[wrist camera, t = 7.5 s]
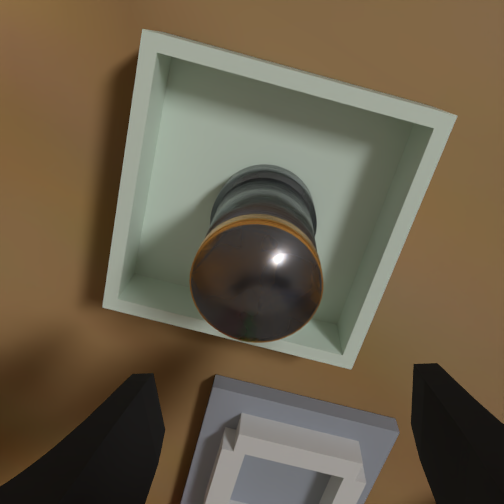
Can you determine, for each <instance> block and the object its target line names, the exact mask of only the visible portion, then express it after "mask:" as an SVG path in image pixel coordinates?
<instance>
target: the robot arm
mask: <svg viewBox="0 0 504 504" xmlns="http://www.w3.org/2000/svg"><path fill="white" fill-rule="evenodd" d="M411 426H412V430H413V434H414V438H415V442H416V446H417V450H418V454H419V458H420V461H421V464H422V467H423V469H424V472H425V475H426V477H427V480H428V483H429V485H430V488H431V491H432V493H433V496H434V498H435V501H436V504H504V424H503V423H501V422H500V421H499V420H498V419H497V418H496V417H494V416H493V415H492V414H491V413H490V412H489V411H488V410H487V409H485V408H484V407H483V406H482V405H481V404H480V403H479V402H478V401H476V400H475V399H474V398H473V397H472V396H471V395H470V394H469V393H468V392H467V391H466V390H465V389H464V388H463V387H462V386H461V385H459V384H458V383H457V382H456V381H455V380H454V379H453V378H452V377H451V376H450V375H449V374H448V373H447V372H446V371H445V370H444V369H443V368H442V367H441V366H440V365H439V364H437V363H431V364H414V370H413V392H412V413H411ZM164 433H165V427H164V422H163V417H162V413H161V408H160V403H159V398H158V393H157V389H156V384H155V379H154V374H153V373H148V374H132V375H131V376H130V377H129V378H128V379H127V380H126V381H125V382H124V383H123V384H122V385H121V386H120V387H119V388H118V389H116V390H115V391H114V392H113V393H112V394H111V395H110V396H109V397H108V398H107V399H106V400H105V401H104V402H103V403H102V404H101V405H100V406H99V407H98V408H97V409H96V410H95V411H94V412H93V413H92V414H91V415H90V416H89V417H88V418H87V419H86V420H84V421H83V422H82V423H81V424H80V425H79V426H78V427H77V428H75V429H74V430H73V431H72V432H71V433H70V434H69V435H68V436H66V437H65V438H64V439H63V440H62V441H61V442H60V443H58V444H57V445H56V446H55V447H54V448H52V449H51V450H50V451H49V452H48V453H46V454H45V455H44V456H42V457H41V458H40V459H39V460H37V461H36V462H35V463H33V464H32V465H31V466H29V467H28V468H27V469H25V470H24V471H23V472H21V473H20V474H18V475H17V476H16V477H14V478H13V479H11V480H10V481H8V482H6V483H5V484H3V485H2V486H0V504H145V502H146V499H147V496H148V493H149V490H150V487H151V484H152V481H153V478H154V475H155V472H156V469H157V466H158V462H159V457H160V453H161V448H162V443H163V438H164Z"/></svg>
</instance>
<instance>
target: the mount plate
mask: <svg viewBox="0 0 504 504" xmlns="http://www.w3.org/2000/svg"><path fill="white" fill-rule="evenodd" d="M399 433H400V432H399V429H398V426H397V422H396V419H394V418H390V417H386V416H382V415H378V414H374V413H370V412H366V411H362V410H358V409H354V408H350V407H346V406H342V405H338V404H333V403H329V402H325V401H321V400H317V399H313V398H309V397H305V396H301V395H297V394H293V393H289V392H285V391H281V390H277V389H272V388H268V387H264V386H260V385H256V384H252V383H248V382H244V381H240V380H236V379H232V378H228V377H224V376H220V375H215V379H214V382H213V386H212V389H211V393H210V397H209V400H208V404H207V408H206V411H205V415H204V419H203V422H202V426H201V429H200V433H199V437H198V440H197V444H196V448H195V451H194V455H193V459H192V462H191V466H190V469H189V473H188V477H187V480H186V484H185V488H184V491H183V495H182V499H181V502H180V504H364V502H365V500H366V498H367V496H368V494H369V492H370V490H371V488H372V486H373V484H374V482H375V480H376V478H377V476H378V474H379V472H380V470H381V468H382V466H383V465H384V463H385V461H386V459H387V457H388V455H389V453H390V451H391V449H392V447H393V445H394V443H395V441H396V439H397V437H398V435H399Z"/></svg>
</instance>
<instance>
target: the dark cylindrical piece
mask: <svg viewBox="0 0 504 504" xmlns="http://www.w3.org/2000/svg"><path fill="white" fill-rule="evenodd" d="M316 229H317V219H316V212H315V207H314V203H313V199H312V196H311V193H310V191H309V190H308V188H307V186H306V185H305V184H304V182H303V181H302V180H301V179H300V178H299V177H298V176H296V175H295V174H294V173H292V172H291V171H289V170H287V169H285V168H282V167H279V166H275V165H268V164H260V165H253V166H250V167H246V168H244V169H242V170H240V171H238V172H237V173H235V174H234V175H232V176H231V177H230V178H229V179H228V180H227V181H226V182H225V184H224V185H223V186H222V188H221V190H220V192H219V194H218V196H217V198H216V200H215V202H214V205H213V208H212V211H211V217H210V227H209V229H208V232H207V234H206V236H205V239H204V240H203V241H202V243H201V245H200V247H199V249H198V251H197V253H196V256H195V258H194V261H193V263H192V266H191V271H190V280H189V283H190V292H191V296H192V299H193V302H194V304H195V306H196V308H197V310H198V311H199V313H200V314H201V316H202V317H203V318H204V319H205V320H206V321H207V322H208V323H209V324H210V325H211V326H212V327H213V328H215V329H216V330H218V331H219V332H221V333H222V334H224V335H226V336H228V337H231V338H234V339H237V340H241V341H245V342H253V343H263V342H272V341H276V340H280V339H283V338H286V337H288V336H290V335H292V334H294V333H295V332H297V331H298V330H300V329H301V328H302V327H304V326H305V325H306V324H307V323H308V322H309V321H310V320H311V318H312V317H313V315H314V314H315V313H316V311H317V309H318V307H319V305H320V302H321V299H322V294H323V283H324V282H323V274H322V268H321V262H320V259H319V255H318V253H317V248H316V242H315V235H316Z"/></svg>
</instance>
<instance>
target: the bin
mask: <svg viewBox="0 0 504 504" xmlns="http://www.w3.org/2000/svg"><path fill="white" fill-rule="evenodd" d="M456 118H457V115H454V114H451V113H449V112H446V111H443V110H441V109H438V108H435V107H433V106H429V105H426V104H422V103H418V102H415V101H411V100H408V99H404V98H400V97H397V96H393V95H390V94H386V93H382V92H379V91H375V90H371V89H368V88H364V87H361V86H357V85H353V84H350V83H346V82H342V81H339V80H335V79H332V78H328V77H324V76H321V75H317V74H313V73H310V72H306V71H303V70H299V69H295V68H292V67H288V66H285V65H281V64H277V63H274V62H270V61H266V60H263V59H259V58H256V57H252V56H248V55H245V54H241V53H237V52H234V51H230V50H227V49H223V48H219V47H216V46H212V45H208V44H205V43H201V42H198V41H194V40H190V39H187V38H183V37H180V36H176V35H172V34H169V33H165V32H160V31H153V30H147V29H142V35H141V42H140V49H139V56H138V63H137V70H136V77H135V84H134V91H133V98H132V104H131V111H130V118H129V125H128V132H127V139H126V146H125V153H124V160H123V167H122V174H121V181H120V188H119V195H118V202H117V209H116V216H115V223H114V230H113V237H112V243H111V250H110V257H109V264H108V271H107V278H106V285H105V292H104V299H103V306H102V307H103V308H107V309H111V310H115V311H119V312H123V313H127V314H131V315H135V316H139V317H143V318H147V319H151V320H155V321H159V322H163V323H167V324H171V325H175V326H179V327H183V328H187V329H191V330H195V331H199V332H203V333H207V334H211V335H215V336H219V337H223V338H227V339H231V340H235V341H239V342H243V343H247V344H251V345H255V346H259V347H263V348H267V349H271V350H275V351H279V352H283V353H287V354H291V355H295V356H299V357H303V358H307V359H311V360H315V361H319V362H323V363H327V364H331V365H335V366H339V367H343V368H347V369H352V367H353V365H354V362H355V360H356V357H357V355H358V353H359V350H360V348H361V346H362V343H363V341H364V338H365V336H366V334H367V331H368V329H369V326H370V324H371V322H372V319H373V317H374V314H375V312H376V310H377V307H378V305H379V302H380V300H381V298H382V295H383V293H384V290H385V288H386V286H387V283H388V281H389V279H390V276H391V274H392V271H393V269H394V267H395V264H396V262H397V259H398V257H399V255H400V252H401V250H402V247H403V245H404V243H405V240H406V238H407V235H408V233H409V231H410V228H411V226H412V223H413V221H414V219H415V216H416V214H417V212H418V209H419V207H420V204H421V202H422V200H423V197H424V195H425V192H426V190H427V188H428V185H429V183H430V180H431V178H432V176H433V173H434V171H435V168H436V166H437V164H438V161H439V159H440V156H441V154H442V152H443V149H444V147H445V144H446V142H447V140H448V137H449V135H450V133H451V130H452V128H453V125H454V123H455V121H456ZM260 164H268V165H275V166H279V167H282V168H285V169H287V170H289V171H291V172H292V173H294V174H295V175H296V176H298V177H299V178H300V179H301V180H302V181H303V182H304V184H305V185H306V186H307V188H308V190H309V191H310V193H311V196H312V199H313V203H314V207H315V212H316V219H317V229H316V235H315V242H316V248H317V253H318V255H319V259H320V262H321V268H322V274H323V282H324V283H323V294H322V299H321V302H320V305H319V307H318V309H317V311H316V313H315V314H314V315H313V317H312V318H311V320H310V321H309V322H308V323H307V324H306V325H305V326H304V327H302V328H301V329H300V330H298V331H297V332H295V333H294V334H292V335H290V336H288V337H286V338H283V339H280V340H276V341H272V342H263V343H253V342H245V341H241V340H237V339H234V338H231V337H228V336H226V335H224V334H222V333H221V332H219V331H218V330H216V329H215V328H213V327H212V326H211V325H210V324H209V323H208V322H207V321H206V320H205V319H204V318H203V317H202V316H201V314H200V313H199V311H198V310H197V308H196V306H195V304H194V302H193V299H192V296H191V292H190V283H189V280H190V271H191V266H192V263H193V261H194V258H195V256H196V253H197V251H198V249H199V247H200V245H201V243H202V241H203V240H204V239H205V236H206V234H207V232H208V229H209V227H210V217H211V211H212V208H213V205H214V202H215V200H216V198H217V196H218V194H219V192H220V190H221V188H222V186H223V185H224V184H225V182H226V181H227V180H228V179H229V178H230V177H231V176H232V175H234V174H235V173H237V172H238V171H240V170H242V169H244V168H246V167H250V166H253V165H260Z"/></svg>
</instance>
